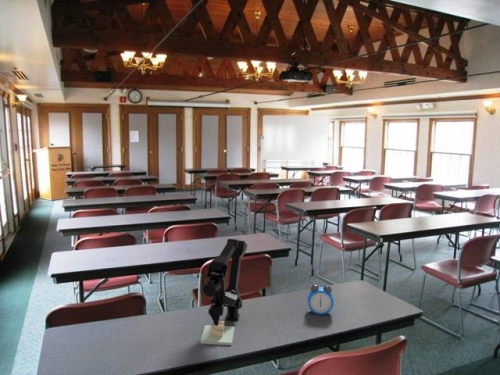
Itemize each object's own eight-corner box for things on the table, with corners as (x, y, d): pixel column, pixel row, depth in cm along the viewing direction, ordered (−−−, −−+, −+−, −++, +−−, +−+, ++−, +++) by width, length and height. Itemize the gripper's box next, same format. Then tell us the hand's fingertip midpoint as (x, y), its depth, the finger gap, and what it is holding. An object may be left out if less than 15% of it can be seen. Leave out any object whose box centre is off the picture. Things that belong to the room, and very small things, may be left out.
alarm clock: (307, 314, 198) (308, 286, 196) (307, 308, 204) (308, 282, 202) (332, 316, 197) (334, 288, 194) (331, 310, 203) (333, 283, 200)
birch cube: (213, 330, 177) (213, 320, 177) (224, 330, 177) (224, 320, 176) (211, 336, 173) (211, 325, 172) (222, 336, 172) (223, 326, 172)
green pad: (205, 327, 182) (205, 325, 182) (234, 328, 182) (234, 326, 181) (200, 343, 168) (200, 341, 168) (231, 345, 168) (231, 342, 168)
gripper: (234, 297, 162) (233, 331, 164) (238, 280, 180) (237, 311, 183) (208, 296, 162) (208, 330, 165) (214, 279, 181) (214, 310, 183)
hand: (218, 320), depth 174 cm, fingers open, 9 cm apart
